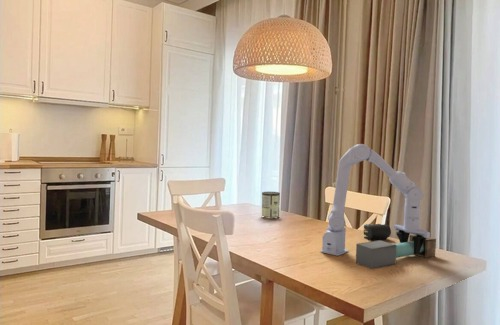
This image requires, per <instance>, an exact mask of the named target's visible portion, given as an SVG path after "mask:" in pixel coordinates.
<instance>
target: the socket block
mask: <svg viewBox="0 0 500 325" xmlns="http://www.w3.org/2000/svg"><path fill="white" fill-rule="evenodd" d="M413 236H416V235H415V234H409V242H410V241H413ZM436 243H437V238H435V237H431V236H430V238H427V239H426V240H425V252H424V253H419V254H417V255H416V256H418V257H422V258H425V259H429V258H434V257H436V248H437V246H436Z"/></svg>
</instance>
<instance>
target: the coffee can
mask: <svg viewBox="0 0 500 325" xmlns="http://www.w3.org/2000/svg"><path fill="white" fill-rule="evenodd" d="M280 194H281V192H278V191H262V192H261V217H262V216H264V217H270V218H275V217H279V218H280V196H281V195H280ZM275 219H276V218H275Z"/></svg>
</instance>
